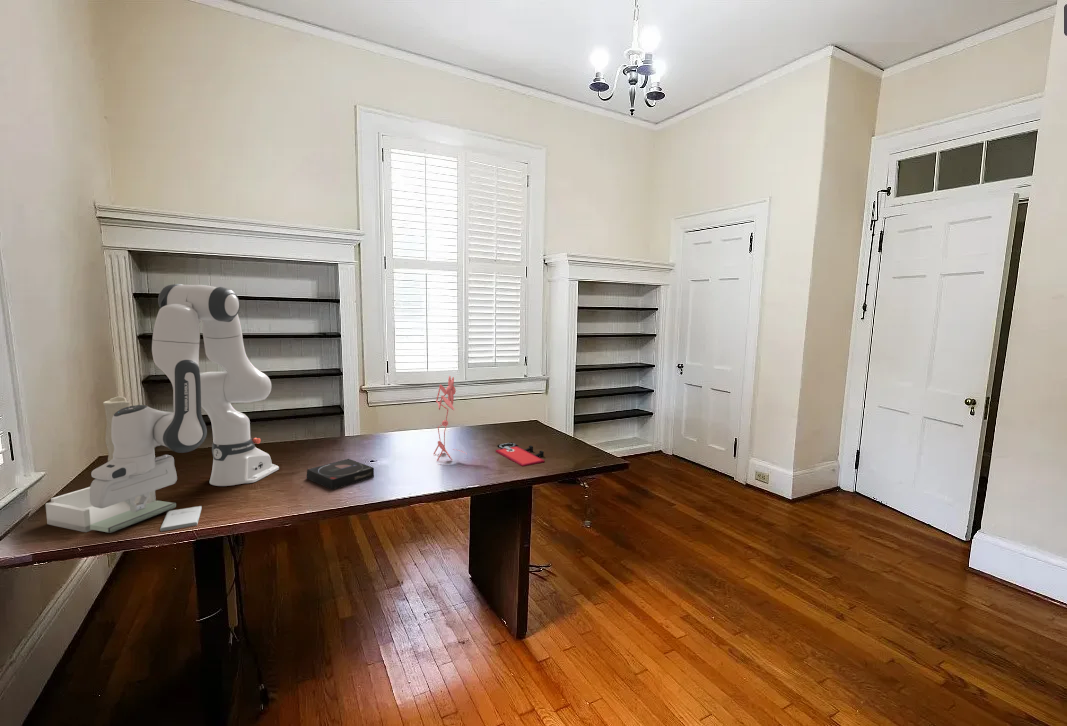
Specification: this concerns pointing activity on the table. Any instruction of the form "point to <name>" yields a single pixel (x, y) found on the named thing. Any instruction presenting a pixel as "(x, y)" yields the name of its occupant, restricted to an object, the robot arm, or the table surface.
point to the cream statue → (110, 410)
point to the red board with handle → (520, 454)
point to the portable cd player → (340, 473)
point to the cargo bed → (83, 510)
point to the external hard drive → (181, 518)
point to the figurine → (450, 392)
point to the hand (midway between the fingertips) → (138, 510)
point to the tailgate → (132, 517)
